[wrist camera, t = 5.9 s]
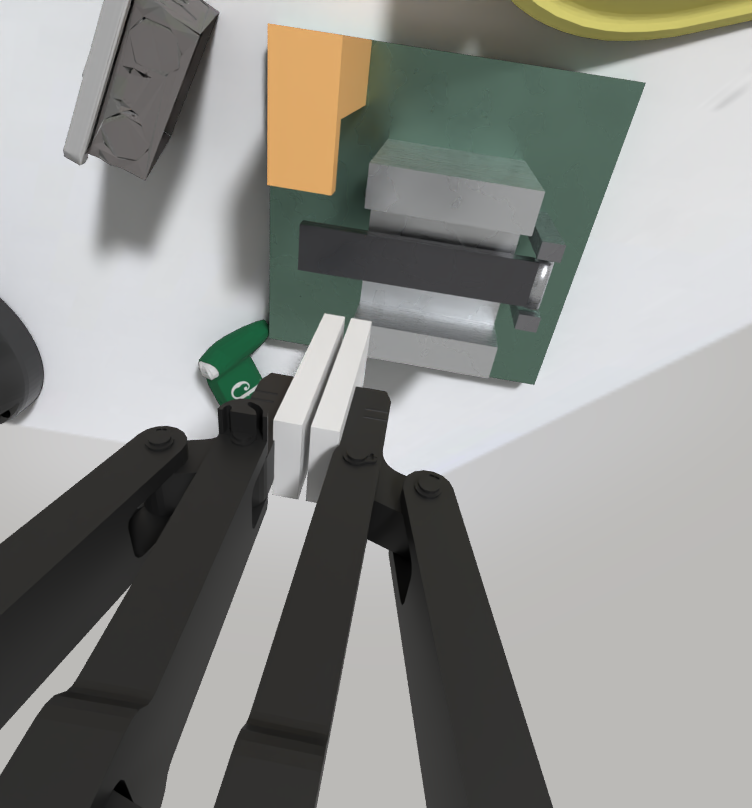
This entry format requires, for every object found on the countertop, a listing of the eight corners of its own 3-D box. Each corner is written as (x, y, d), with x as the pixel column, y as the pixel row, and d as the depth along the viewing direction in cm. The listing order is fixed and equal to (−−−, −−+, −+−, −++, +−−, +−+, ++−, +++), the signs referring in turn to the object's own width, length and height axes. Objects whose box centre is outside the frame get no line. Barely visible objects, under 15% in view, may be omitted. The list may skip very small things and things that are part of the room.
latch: (310, 154, 30) (267, 184, 23) (316, 31, 27) (267, 23, 20) (359, 162, 30) (331, 195, 23) (372, 40, 27) (342, 35, 20)
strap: (301, 265, 29) (297, 271, 28) (303, 218, 27) (299, 223, 26) (537, 303, 29) (540, 311, 28) (552, 258, 27) (556, 265, 26)
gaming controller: (250, 311, 41) (183, 348, 39) (269, 318, 38) (198, 358, 36) (295, 403, 46) (238, 441, 43) (315, 415, 43) (255, 456, 40)
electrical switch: (163, -57, 27) (72, -81, 20) (250, 13, 29) (196, 15, 21) (112, 109, 32) (24, 139, 25) (189, 160, 34) (128, 203, 26)
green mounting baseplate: (275, 329, 39) (230, 397, 32) (278, 25, 28) (212, 14, 21) (531, 374, 39) (551, 454, 31) (637, 81, 28) (708, 92, 20)
